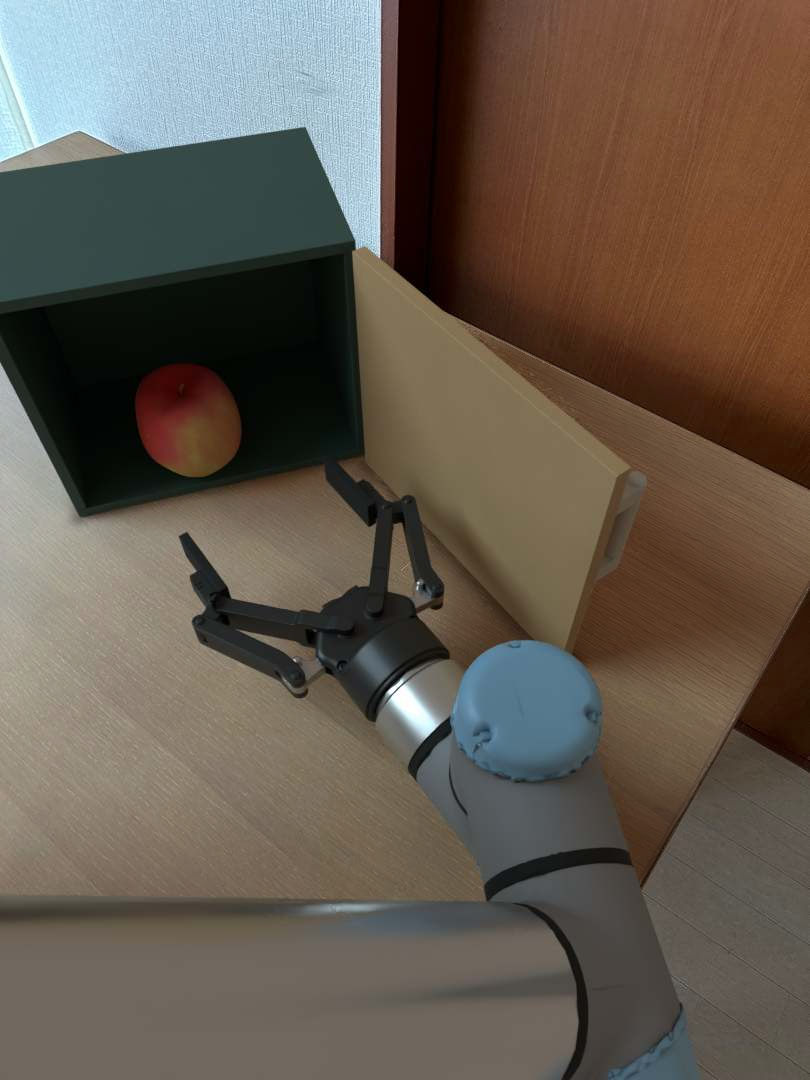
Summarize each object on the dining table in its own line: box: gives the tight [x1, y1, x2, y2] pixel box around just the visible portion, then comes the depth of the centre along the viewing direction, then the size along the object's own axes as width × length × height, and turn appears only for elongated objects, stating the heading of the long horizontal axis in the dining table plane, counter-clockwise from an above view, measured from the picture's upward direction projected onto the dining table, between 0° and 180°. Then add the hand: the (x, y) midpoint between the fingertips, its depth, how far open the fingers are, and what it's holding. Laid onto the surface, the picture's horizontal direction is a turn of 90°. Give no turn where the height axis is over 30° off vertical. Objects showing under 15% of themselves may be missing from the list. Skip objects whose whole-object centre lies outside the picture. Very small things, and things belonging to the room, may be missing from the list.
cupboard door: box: [352, 245, 648, 655], centre depth 67 cm, size 7×28×24 cm, turn 36°
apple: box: [135, 363, 241, 477], centre depth 77 cm, size 10×10×10 cm
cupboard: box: [0, 126, 365, 518], centre depth 76 cm, size 18×28×24 cm, turn 106°
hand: (259, 504), depth 69 cm, fingers open, 13 cm apart
